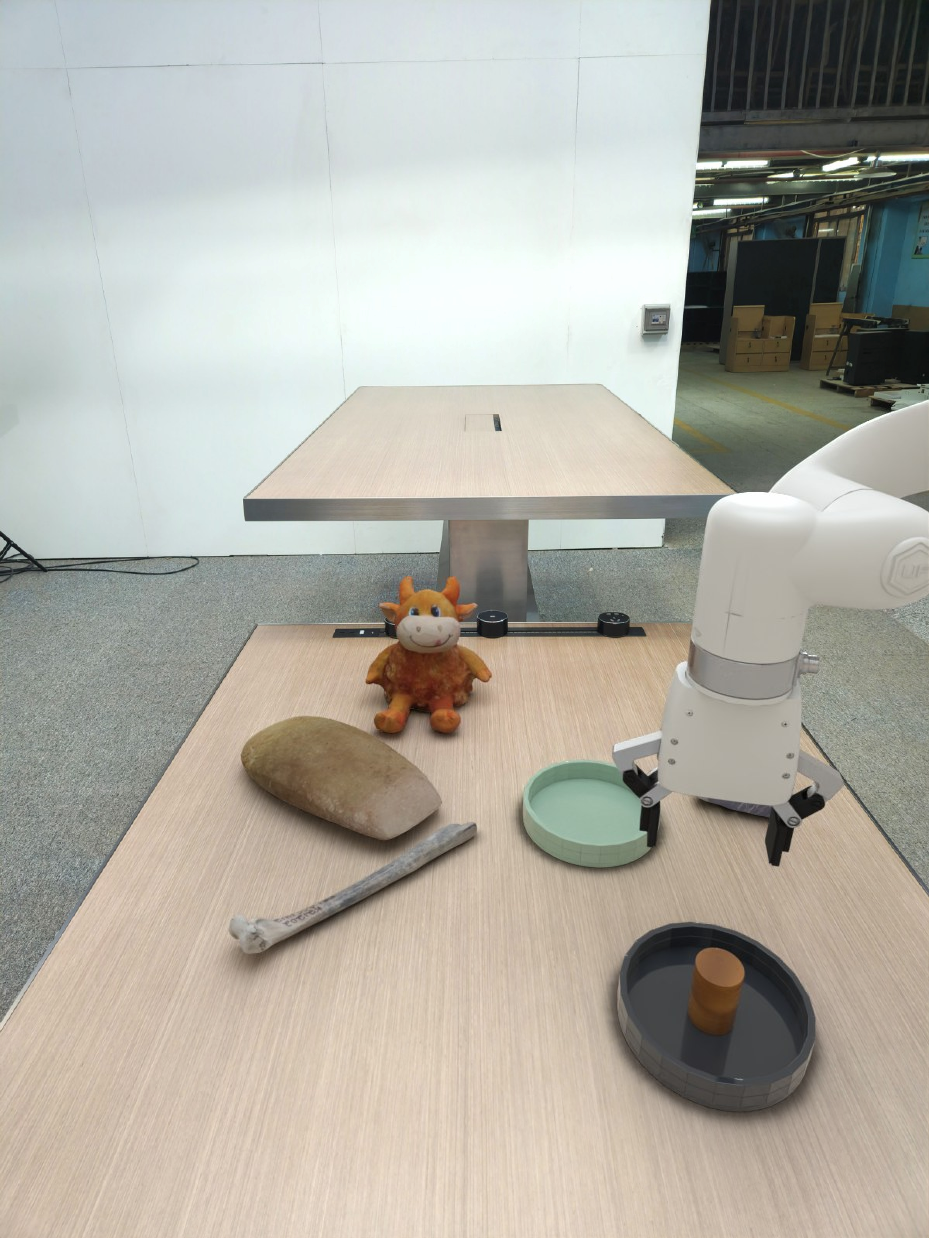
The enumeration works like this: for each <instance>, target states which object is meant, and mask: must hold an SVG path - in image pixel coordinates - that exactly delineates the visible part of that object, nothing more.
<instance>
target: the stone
mask: <svg viewBox="0 0 929 1238" xmlns="http://www.w3.org/2000/svg"><path fill="white" fill-rule="evenodd" d="M240 761H241V764H242V767H243V768H244V769H245V770H246V772H247V774H248V775H249V776H250V777H251V778H252V780H253V781H254V782H255V783H256V784H257V785H258V786H259V787H261V788H262V789H263V790H265V791H267V792H268V793H269V794H271V795H273V796H275V797H276V798H277V799H279V800H281V801H283V802H286V803H287V804H289V805H291V806H293V807H296V808H298V809H300V810H302V811H305V812H307V813H309V814H311V815H313V816H315V817H318V818H321V819H323V820H326V821H328V822H331V823H333V824H336V825H339V826H341V827H343V828H346V829H349V830H351V831H353V832H355V833H359V834H361V835H364V836H366V837H370V838H374V839H377V840H380V841H389V840H391V839H394V838H396V837H399V836H400V835H402V834H404V833H406V832H407V831H409V830H411V829H412V828H414V827H415V826H417V825H418V824H420V823H421V822H422V821H424V820H425V819H427V818H428V817H429V816H431V814H433V813H434V812H435V811H436V810H438V809H439V808H440V807H441V805H442V804H443V800H442V797H441V795H440V793H439V791H438V790H437V789H436V787H435V786H434V785H433V783H432V781H431V780H430V779H429V778H428V777H427V775H426V774H425V773H424V772H423V770H421V769H420V768H419V767H418V766H417V765H415V764H414V763H412V762H411V760H408V758H406V757H405V756H404V755H402V754H401V753H400V752H398V751H397V750H396V749H394V748H393V747H392V746H390V745H389V744H387V743H386V742H384V741H382V740H381V739H379V738H377V737H376V736H375V735H372V734H371V733H369V732H367V731H365V730H362V729H360V728H359V727H356V726H354V725H351V724H349V723H346V722H342V721H339V720H337V719H333V718H328V717H323V716H315V715H314V716H312V715H298V716H293V717H289V718H287V719H284V720H281V721H278V722H275V723H274V724H271V725H269V726H267V727H265V728H263V729H260V731H258V732H257V733H255V734H254V735H252V736H251V737H250V738H249V739H248V740H247V741H246V742H245V744H244V746H243V747H242V750H241V753H240Z"/></svg>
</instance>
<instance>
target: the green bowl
mask: <svg viewBox="0 0 929 1238" xmlns="http://www.w3.org/2000/svg"><path fill="white" fill-rule="evenodd" d="M523 789H524V790H523V797H522V820H523V821H522V822H523V826H524V828H525V829H524V830H525V831H526V833H527V835H528V836H529V838H530V839H531V840H532V841H533V843H534V844H535V845H537V846H538V847H539V849H541V850H543V851H544V852H545V853H547V854H548V855H550V856H552V857H554V858H556V859H558V860H560V861H562V862H564V863H565V862H566V863H569V864H572V865H576V866H581V867H586V868H587V867H588V868H614V867H619V866H624V865H627V864H629V863H633V862H635V861H636V860H639V859H641V858H642V857H643V856H644V855H646V854H647V853H648V852H649V851H650V850H651V849H652V848H651V847H647V832H645V831H639V826H640V814H641V804H640V799H639V798H638V797H637V796H636V795H635V794H634V793H633V792H632V791H631V789H630V788H629V787H628V786H627V785H626V784H625V783H624V782H623V777H622V775H621V773H620V772H619V770H618V768H617V766H616V764H615V763H611V762H607V761H602V760H597V759H596V760H594V759H582V758H581V759H569V760H563V761H559V762H554V763H552V764H549V765H547V766H546V767H545V766H544V767H543V768H540V769H539V770H538V771H537V772H536V773H534V774H533V775H532V776H531V777H530V778H529V779H528V781H527V782H526V784H525V786H524V788H523ZM661 815H662V807H661V806H660V818H659V826H658V831H659V829H660V824H661ZM658 833H659V832H658ZM658 833H657V835H658Z"/></svg>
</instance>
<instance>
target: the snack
mask: <svg viewBox="0 0 929 1238" xmlns="http://www.w3.org/2000/svg"><path fill="white" fill-rule="evenodd" d="M744 973H745V972H744V968H743V965H742V963H741V962H740V961H739V959H738V958H737V957H736V956H734V955H733V954H732V953H730V952H728V951H726V950H723V949H720V948H707V949H704V950H702V951H701V952H699V953H698V955H697V957H696V960H695V966H694V972H693V978H692V984H691V990H690V996H689V1002H688V1008H687V1011H688V1015H689V1018H690V1020H691V1021H692V1023H693V1024H694V1025H695V1026H696V1027H697V1028H698V1029H700V1030H701V1031H703V1032H705V1033H707V1034H710V1035H717V1036H718V1035H724V1034H727V1033H728V1032H730V1031H731V1030H732V1028H733V1026H734V1023H735V1018H736V1013H737V1008H738V1003H739V999H740V994H741V989H742V984H743V979H744Z"/></svg>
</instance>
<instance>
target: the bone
mask: <svg viewBox="0 0 929 1238" xmlns="http://www.w3.org/2000/svg"><path fill="white" fill-rule="evenodd" d="M477 831H478V827H477V823H476V822H475V821H468V822H466V823H463V824H461V823H450V824H448V825H445V826H444V827H441V828H439V829H438V830H437V831H435V832H434V833H433V834H431V835H429V836H428V837H427V838H425V839H424V840H423V841H421V842H419V843H418V844H416V845H415V846H413V847H412V848H411V849H409V850H407V851H406V852H405V853H403V854H401V855H400V856H399V857H397V858H396V859H394V860H392V861H390V862H389V863H388V864H386V865H384V866H382V867H381V868H379V869H378V870H376V871H374V872H372V873H371V874H369V875H367V876H366V877H364V878H362V879H361V880H358V881H357V882H356V883H353V884H351V885H349V886H348V887H346V888H344V889H342V890H341V891H339V892H338V891H337V892H336V893H335V894H332V895H330V896H328V897H327V898H324V899H322V900H321V901H318V902H316V903H315V904H312V905H310V906H308V907H305V908H303V909H301V910H298V911H296V912H293V913H290V914H288V915H285V916H280V917H277V918H266V917H261V916H258V917H254V918H250V919H247V917H246V916H244V915H241V914H235V915H233V916H232V918H231V920H230V923H229V927H228V933H229V935H230V936H231V937H232V938H234V940H238V941H239V946H240V948H241V950H242V952H243V953H244V954H246V955H249V954H250V955H253V954H259V953H262V952H264V951H266V950H268V949H269V948H271V946H273V945H275V944H278V943H280V942H282V941H284V940H286V939H288V938H290V937H293V936H294V935H296V934H298V933H299V932H301V931H303V930H305V929H308V928H309V927H311V926H314V925H315V924H318V923H319V922H321V921H324V920H326V919H327V918H329V917H331V916H333V915H335V914H338V913H339V912H341V911H343V910H346V908H349V907H351V906H352V905H354V904H356V903H358V902H360V901H362V900H365V899H366V898H368V897H369V896H371V895H373V894H375V893H377V892H379V891H381V890H382V889H384V888H385V887H387V886H389V885H390V884H392V883H393V882H396V881H398V880H400V879H402V878H404V877H405V876H408V875H409V874H411V873H413V872H415V871H416V870H418V869H419V868H421V867H422V866H424V865H426V864H428V863H429V862H431V861H432V860H434V859H436V858H437V857H439V856H441V855H442V854H444V853H446V852H448V851H450V850H452V849H454V848H455V847H457V846H459V845H461V844H463V843H465V842H467V841H469V840H470V839H472V838H473V837H474V836H475V835H476V833H477Z"/></svg>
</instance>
